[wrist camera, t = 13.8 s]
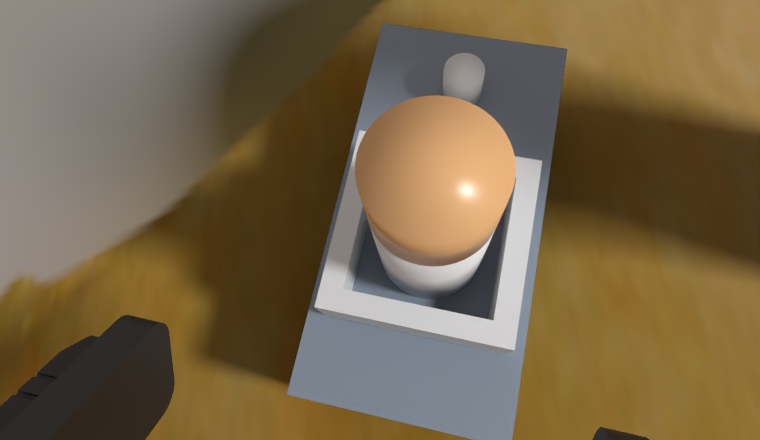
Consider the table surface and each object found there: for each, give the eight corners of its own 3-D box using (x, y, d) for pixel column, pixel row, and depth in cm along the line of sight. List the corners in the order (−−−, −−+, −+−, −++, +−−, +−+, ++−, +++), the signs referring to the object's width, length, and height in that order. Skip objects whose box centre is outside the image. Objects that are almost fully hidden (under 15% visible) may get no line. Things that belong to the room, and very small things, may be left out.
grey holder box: (539, 113, 35) (580, 17, 26) (490, 435, 29) (521, 455, 20) (389, 90, 36) (379, -9, 27) (316, 393, 31) (271, 394, 22)
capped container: (488, 211, 26) (526, 108, 16) (472, 308, 25) (502, 258, 15) (391, 193, 26) (374, 84, 17) (370, 287, 25) (338, 226, 16)
